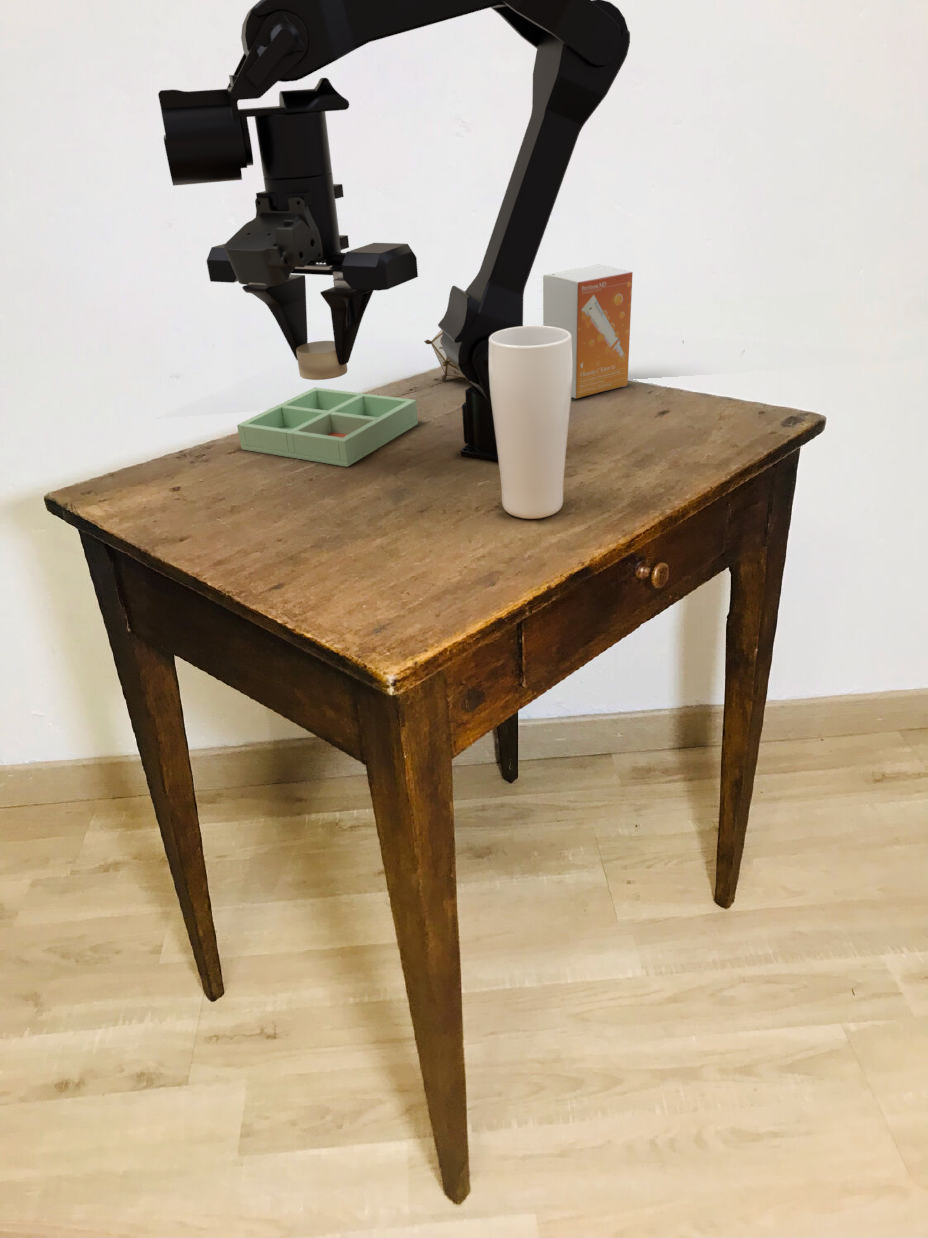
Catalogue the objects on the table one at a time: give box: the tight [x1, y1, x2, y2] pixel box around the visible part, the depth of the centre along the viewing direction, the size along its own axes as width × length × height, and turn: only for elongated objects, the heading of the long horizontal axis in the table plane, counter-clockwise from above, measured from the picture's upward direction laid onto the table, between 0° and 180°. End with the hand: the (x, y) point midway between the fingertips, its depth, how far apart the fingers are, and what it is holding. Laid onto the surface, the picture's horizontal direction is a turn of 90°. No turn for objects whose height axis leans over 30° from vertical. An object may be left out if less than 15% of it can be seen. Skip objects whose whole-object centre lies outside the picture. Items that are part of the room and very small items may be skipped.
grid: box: [236, 387, 419, 468], centre depth 101 cm, size 14×14×3 cm
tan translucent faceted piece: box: [423, 329, 466, 382], centre depth 115 cm, size 9×8×10 cm
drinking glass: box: [488, 325, 573, 520], centre depth 79 cm, size 7×7×15 cm
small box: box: [542, 264, 634, 400], centre depth 109 cm, size 8×6×13 cm
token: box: [296, 340, 348, 381], centre depth 87 cm, size 4×4×2 cm
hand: (322, 361), depth 87 cm, fingers closed on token, 4 cm apart
